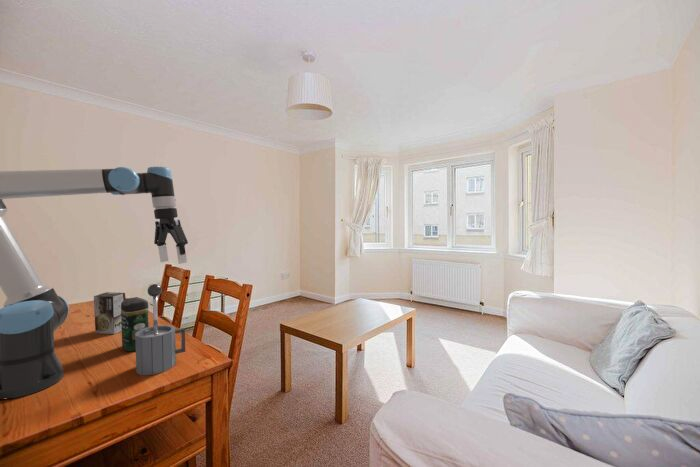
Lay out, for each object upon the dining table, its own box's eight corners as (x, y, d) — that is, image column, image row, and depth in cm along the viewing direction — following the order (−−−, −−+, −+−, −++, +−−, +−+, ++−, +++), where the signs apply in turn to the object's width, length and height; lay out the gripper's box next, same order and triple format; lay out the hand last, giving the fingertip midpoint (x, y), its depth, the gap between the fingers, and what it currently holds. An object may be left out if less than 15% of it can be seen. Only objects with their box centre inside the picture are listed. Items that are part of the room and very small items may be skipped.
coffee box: (127, 328, 131) (126, 292, 130) (114, 334, 124) (113, 296, 123) (108, 327, 132) (107, 291, 131) (94, 333, 125) (93, 295, 124)
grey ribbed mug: (136, 378, 91) (135, 340, 90) (135, 364, 99) (134, 329, 99) (187, 365, 99) (187, 330, 99) (182, 353, 108) (182, 321, 107)
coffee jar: (119, 346, 113) (117, 298, 112) (143, 340, 119) (142, 294, 118) (127, 354, 107) (125, 303, 106) (152, 347, 113) (151, 298, 112)
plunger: (141, 343, 92) (140, 288, 91) (140, 335, 99) (139, 283, 98) (171, 337, 97) (170, 284, 96) (168, 329, 103) (167, 280, 103)
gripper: (192, 205, 111) (200, 261, 113) (159, 209, 124) (167, 259, 126) (172, 206, 104) (180, 266, 107) (139, 210, 118) (147, 263, 120)
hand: (173, 262), depth 117 cm, fingers open, 13 cm apart
